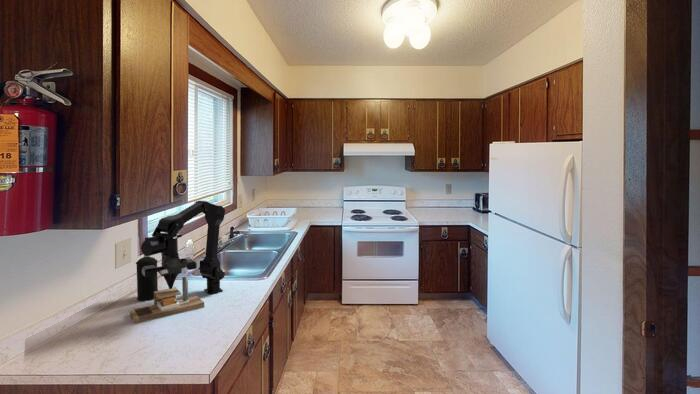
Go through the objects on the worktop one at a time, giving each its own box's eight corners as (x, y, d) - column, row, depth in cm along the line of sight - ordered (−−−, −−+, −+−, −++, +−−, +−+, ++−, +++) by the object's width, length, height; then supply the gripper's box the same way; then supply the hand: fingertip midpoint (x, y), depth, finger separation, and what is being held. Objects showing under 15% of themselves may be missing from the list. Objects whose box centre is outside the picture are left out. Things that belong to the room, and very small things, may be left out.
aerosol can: (157, 299, 154) (156, 254, 152) (135, 302, 151) (133, 255, 149) (159, 293, 162) (158, 249, 160) (138, 295, 159) (137, 250, 157)
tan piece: (129, 314, 139) (128, 295, 138) (196, 299, 155) (196, 282, 155) (134, 323, 132) (133, 303, 131) (204, 307, 148) (204, 289, 147)
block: (161, 305, 143) (161, 296, 143) (172, 303, 146) (171, 293, 146) (164, 309, 140) (163, 299, 140) (175, 306, 143) (174, 296, 143)
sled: (156, 305, 144) (156, 279, 142) (185, 299, 151) (185, 274, 150) (161, 310, 139) (160, 284, 138) (190, 304, 146) (190, 279, 145)
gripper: (147, 258, 129) (149, 300, 131) (201, 251, 142) (201, 289, 143) (140, 251, 138) (142, 291, 139) (191, 245, 150) (192, 281, 152)
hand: (170, 288), depth 143 cm, fingers closed
